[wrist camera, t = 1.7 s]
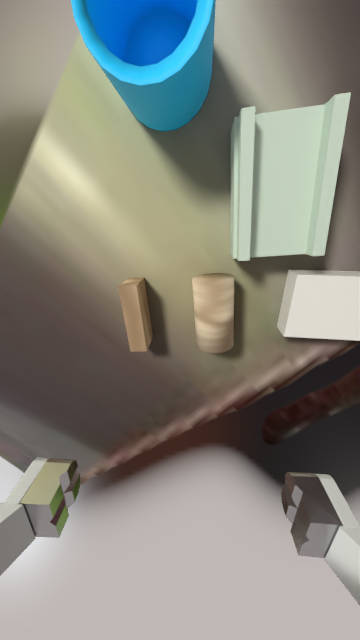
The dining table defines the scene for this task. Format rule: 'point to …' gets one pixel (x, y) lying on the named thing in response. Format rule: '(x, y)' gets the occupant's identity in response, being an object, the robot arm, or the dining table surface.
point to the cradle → (284, 178)
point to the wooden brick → (136, 313)
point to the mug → (152, 54)
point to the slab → (321, 305)
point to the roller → (214, 311)
